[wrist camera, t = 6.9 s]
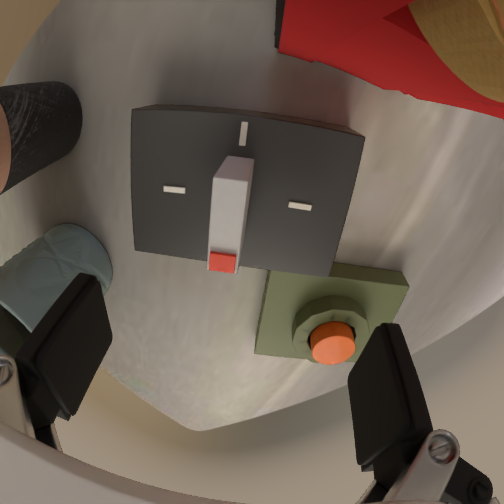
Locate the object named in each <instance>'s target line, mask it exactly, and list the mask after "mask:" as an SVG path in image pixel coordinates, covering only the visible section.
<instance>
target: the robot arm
mask: <svg viewBox="0 0 504 504" xmlns="http://www.w3.org/2000/svg"><path fill="white" fill-rule="evenodd" d="M111 342H112V331H111V327H110V323H109V319H108V315H107V310H106V306H105V302H104V297H103V292H102V287H101V283H100V281H98V280H97V277H96V276H94V275H91V274H86V273H82V272H81V273H79V274H78V275H77V276H76V277H75V278H74V279H73V280H72V282H71V283H70V284H69V285H68V286H67V288H66V289H65V290H64V291H63V292H62V294H61V295H60V296H59V297H58V299H57V300H56V301H55V302H54V304H53V305H52V306H51V307H50V309H49V310H48V311H47V313H46V314H45V315H44V316H43V318H42V319H41V320H40V322H39V323H38V324H37V326H36V327H35V328H34V330H33V331H32V333H31V334H30V335H29V337H28V338H27V339H26V341H25V342H24V344H23V345H22V347H21V348H20V349H19V351H18V352H17V354H16V358H15V359H13V358H12V357H10V356H8V355H4V354H3V355H0V504H245V503H236V502H227V501H221V500H214V499H208V498H202V497H197V496H192V495H187V494H183V493H178V492H174V491H170V490H165V489H162V488H158V487H154V486H151V485H147V484H143V483H140V482H137V481H134V480H131V479H128V478H125V477H122V476H118V475H116V474H113V473H110V472H107V471H105V470H102V469H99V468H97V467H94V466H92V465H90V464H87V463H85V462H82V461H80V460H78V459H76V458H73V457H71V456H69V455H67V454H64V453H63V451H62V448H61V445H60V442H59V439H58V435H57V432H56V428H55V425H54V421H55V418H56V416H58V417H60V418H62V419H65V420H67V421H69V419H70V417H71V415H72V416H73V415H75V414H76V412H77V410H78V408H79V406H80V404H81V402H82V400H83V397H84V396H85V393H86V391H87V389H88V387H89V385H90V383H91V381H92V379H93V377H94V375H95V373H96V371H97V369H98V367H99V365H100V364H101V362H102V360H103V358H104V356H105V354H106V352H107V350H108V348H109V346H110V345H111ZM348 389H349V396H350V404H351V411H352V420H353V429H354V438H355V448H356V459H357V463H358V465H361V469H362V472H366V471H374V480H373V482H372V483H371V485H370V486H369V487H368V489H367V490H366V491H365V493H364V494H363V495H362V496H361V498H360V499H359V500H358V501H357V503H356V504H500V502H499V501H498V500H497V498H496V497H493V498H492V493H493V487H492V483H491V481H490V479H489V478H488V477H487V476H486V475H484V474H483V473H482V472H480V471H479V470H477V469H476V468H474V467H473V466H472V465H470V464H469V463H467V462H466V461H465V460H463V459H462V458H461V457H459V455H460V446H459V443H458V440H457V439H456V437H455V436H454V435H453V434H452V433H451V432H449V431H447V430H443V429H438V430H434V431H433V427H432V423H431V419H430V416H429V412H428V409H427V405H426V401H425V398H424V395H423V391H422V388H421V385H420V381H419V378H418V375H417V372H416V369H415V367H414V364H413V361H412V358H411V355H410V352H409V349H408V347H407V344H406V341H405V338H404V335H403V333H402V330H401V327H400V325H399V324H395V323H381V325H380V326H377V327H376V328H375V329H374V331H373V333H372V335H371V336H370V338H369V340H368V342H367V344H366V346H365V347H364V349H363V351H362V353H361V355H360V356H359V358H358V360H357V361H356V363H355V365H354V367H353V368H352V370H351V372H350V373H349V376H348Z"/></svg>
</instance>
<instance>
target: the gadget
mask: <svg viewBox="0 0 504 504" xmlns="http://www.w3.org/2000/svg"><path fill="white" fill-rule="evenodd" d="M364 141H365V137H364V136H363V135H361V134H359V133H357V132H356V131H354V130H352V129H350V128H347V127H343V126H339V125H334V124H329V123H324V122H319V121H314V120H309V119H303V118H297V117H291V116H285V115H279V114H272V113H265V112H257V111H249V110H240V109H230V108H219V107H205V106H188V105H157V104H155V105H150V106H145V107H140V108H135V109H132V116H131V198H132V218H133V234H134V246H135V250H136V251H142V252H149V253H156V254H162V255H169V256H176V257H182V258H189V259H196V260H203V261H207V257H208V240H209V224H210V210H211V196H212V183H213V177H214V175H215V174H216V172H217V171H218V169H219V168H220V166H221V165H222V163H223V162H224V160H225V159H226V157H227V156H235V157H243V158H251V159H254V167H253V175H252V182H251V190H250V198H249V205H248V213H247V221H246V229H245V236H244V241H243V246H242V251H241V257H240V262H239V266H245V267H252V268H259V269H266V270H274V271H281V272H288V273H296V274H303V275H311V276H318V277H326V278H328V277H329V275H330V271H331V268H332V265H333V262H334V258H335V255H336V252H337V248H338V245H339V241H340V238H341V234H342V231H343V227H344V223H345V220H346V216H347V212H348V209H349V205H350V201H351V197H352V193H353V189H354V185H355V181H356V177H357V173H358V168H359V164H360V160H361V155H362V151H363V146H364Z"/></svg>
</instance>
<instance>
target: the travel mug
mask: <svg viewBox="0 0 504 504" xmlns="http://www.w3.org/2000/svg"><path fill="white" fill-rule="evenodd" d="M81 126H82V111H81V106H80V102H79V99H78V97H77V95H76V94H75V92H74V91H73V90H72V89H71V88H70V87H69V86H68V85H66V84H64V83H61V82H37V83H26V84H18V85H10V86H2V87H0V195H1V194H2V193H4V192H5V191H7V190H8V189H10V188H11V187H13V186H15V185H16V184H18V183H19V182H21V181H23V180H24V179H26V178H27V177H29V176H31V175H32V174H34V173H36V172H38V171H39V170H41V169H43V168H45V167H46V166H48V165H50V164H52V163H53V162H55V161H57V160H59V159H61V158H62V157H64V156H65V155H67V154H68V153H69V152H70V151H71V150H72V148H73V147H74V145H75V144H76V142H77V140H78V138H79V135H80V131H81Z"/></svg>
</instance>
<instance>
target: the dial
mask: <svg viewBox="0 0 504 504" xmlns="http://www.w3.org/2000/svg"><path fill="white" fill-rule="evenodd" d="M253 167H254V159H251V158H243V157H235V156H227V157H226V159H225V160H224V162H223V163H222V165H221V166H220V168H219V169H218V171H217V172H216V174H215V175H214V177H213V183H212V196H211V210H210V224H209V240H208V257H207V269H208V270H213V271H220V272H227V273H233V274H237V272H238V267H239V262H240V257H241V251H242V246H243V241H244V236H245V229H246V221H247V213H248V205H249V198H250V190H251V182H252V175H253Z"/></svg>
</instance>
